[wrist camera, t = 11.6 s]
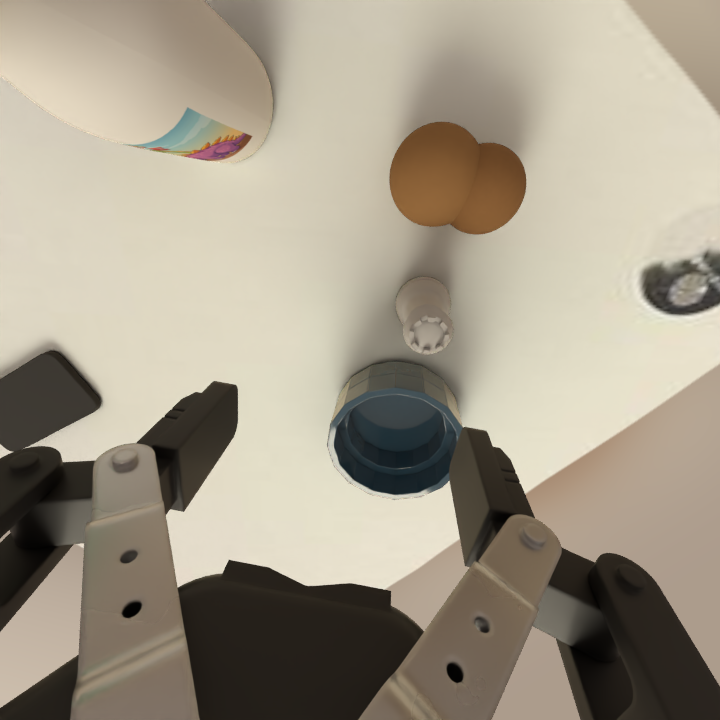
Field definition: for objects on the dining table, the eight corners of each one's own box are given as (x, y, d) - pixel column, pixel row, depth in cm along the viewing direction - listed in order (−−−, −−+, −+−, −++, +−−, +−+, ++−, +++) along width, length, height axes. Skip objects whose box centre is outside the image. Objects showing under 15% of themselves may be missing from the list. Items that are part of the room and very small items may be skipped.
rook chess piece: (458, 283, 29) (476, 313, 22) (438, 333, 31) (450, 376, 23) (404, 268, 29) (405, 293, 22) (388, 319, 31) (384, 358, 23)
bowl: (347, 348, 32) (337, 376, 27) (470, 371, 32) (483, 404, 27) (331, 446, 37) (321, 485, 32) (438, 467, 37) (444, 509, 32)
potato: (399, 123, 25) (399, 103, 19) (526, 145, 24) (562, 131, 19) (383, 216, 27) (379, 221, 22) (498, 236, 27) (522, 246, 22)
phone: (101, 409, 37) (11, 455, 41) (107, 404, 38) (18, 450, 42) (47, 349, 35) (-42, 404, 39) (55, 346, 35) (-34, 400, 39)
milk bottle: (179, 10, 23) (-575, -621, 5) (289, 61, 24) (-55, -352, 6) (162, 138, 27) (-340, 18, 9) (260, 181, 27) (-19, 153, 9)
